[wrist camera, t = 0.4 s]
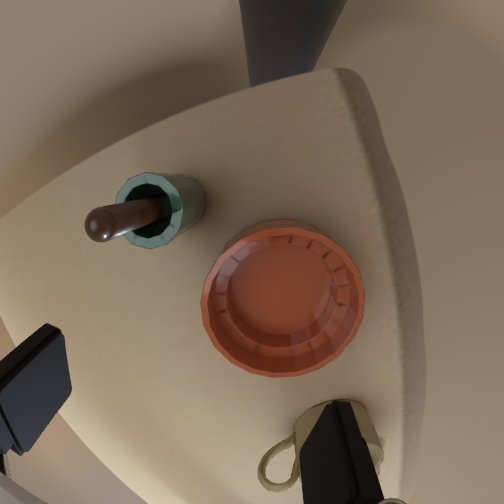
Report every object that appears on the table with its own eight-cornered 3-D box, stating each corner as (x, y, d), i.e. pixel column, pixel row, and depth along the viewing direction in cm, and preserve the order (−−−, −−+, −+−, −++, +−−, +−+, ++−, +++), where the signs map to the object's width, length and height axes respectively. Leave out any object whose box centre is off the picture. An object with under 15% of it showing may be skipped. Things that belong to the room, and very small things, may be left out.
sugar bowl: (286, 462, 37) (291, 538, 23) (254, 426, 35) (251, 516, 21) (375, 428, 35) (403, 503, 21) (357, 386, 33) (392, 474, 19)
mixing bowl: (229, 202, 28) (221, 207, 23) (364, 239, 29) (386, 253, 23) (200, 328, 32) (189, 358, 26) (320, 355, 32) (330, 387, 26)
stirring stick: (171, 191, 28) (80, 205, 12) (189, 195, 28) (110, 213, 12) (168, 209, 28) (76, 240, 13) (184, 213, 28) (105, 249, 13)
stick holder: (161, 170, 28) (121, 167, 19) (212, 181, 28) (190, 181, 19) (150, 221, 29) (109, 238, 20) (199, 234, 29) (174, 256, 20)
